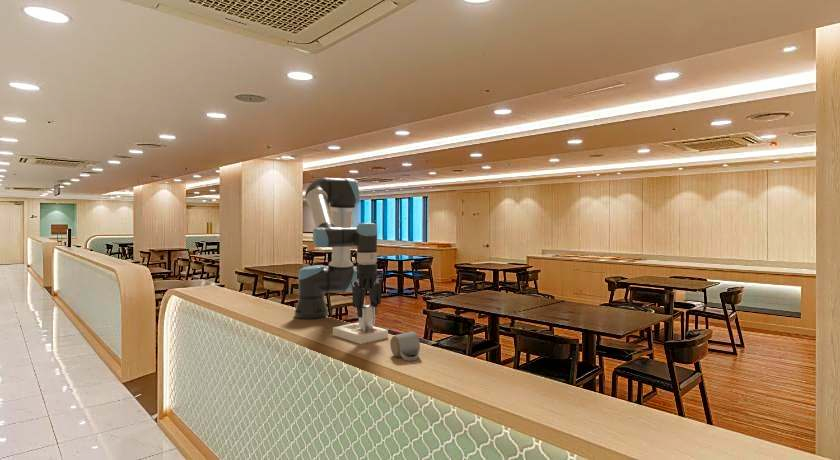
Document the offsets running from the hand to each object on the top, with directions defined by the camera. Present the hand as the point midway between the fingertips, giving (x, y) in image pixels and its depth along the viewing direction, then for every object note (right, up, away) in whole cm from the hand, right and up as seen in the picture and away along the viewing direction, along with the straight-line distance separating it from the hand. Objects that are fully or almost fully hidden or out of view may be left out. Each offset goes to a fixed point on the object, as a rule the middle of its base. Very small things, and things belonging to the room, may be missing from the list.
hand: (366, 324), depth 176 cm
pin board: (-3, -5, +3) cm, 7 cm away
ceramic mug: (+16, -6, -23) cm, 28 cm away
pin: (0, -4, 0) cm, 4 cm away
